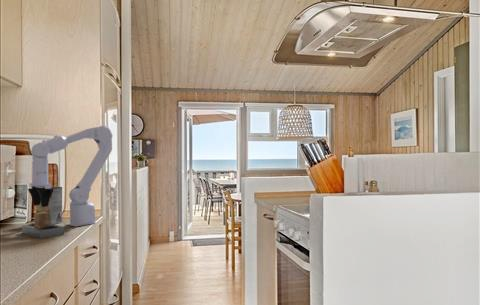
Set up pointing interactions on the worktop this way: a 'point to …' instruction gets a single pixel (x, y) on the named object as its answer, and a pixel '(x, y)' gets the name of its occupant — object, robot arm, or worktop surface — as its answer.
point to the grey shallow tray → (43, 231)
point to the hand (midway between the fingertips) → (40, 205)
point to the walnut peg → (41, 219)
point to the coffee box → (53, 206)
